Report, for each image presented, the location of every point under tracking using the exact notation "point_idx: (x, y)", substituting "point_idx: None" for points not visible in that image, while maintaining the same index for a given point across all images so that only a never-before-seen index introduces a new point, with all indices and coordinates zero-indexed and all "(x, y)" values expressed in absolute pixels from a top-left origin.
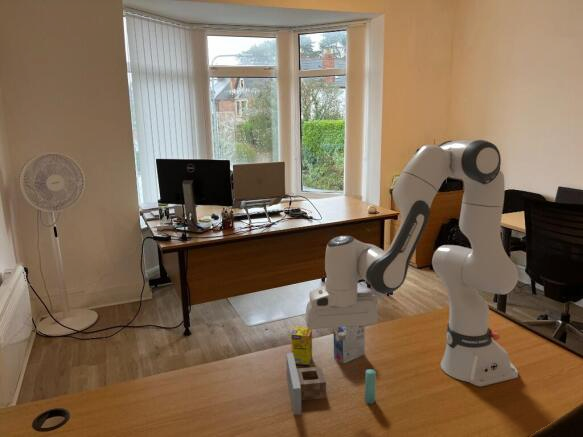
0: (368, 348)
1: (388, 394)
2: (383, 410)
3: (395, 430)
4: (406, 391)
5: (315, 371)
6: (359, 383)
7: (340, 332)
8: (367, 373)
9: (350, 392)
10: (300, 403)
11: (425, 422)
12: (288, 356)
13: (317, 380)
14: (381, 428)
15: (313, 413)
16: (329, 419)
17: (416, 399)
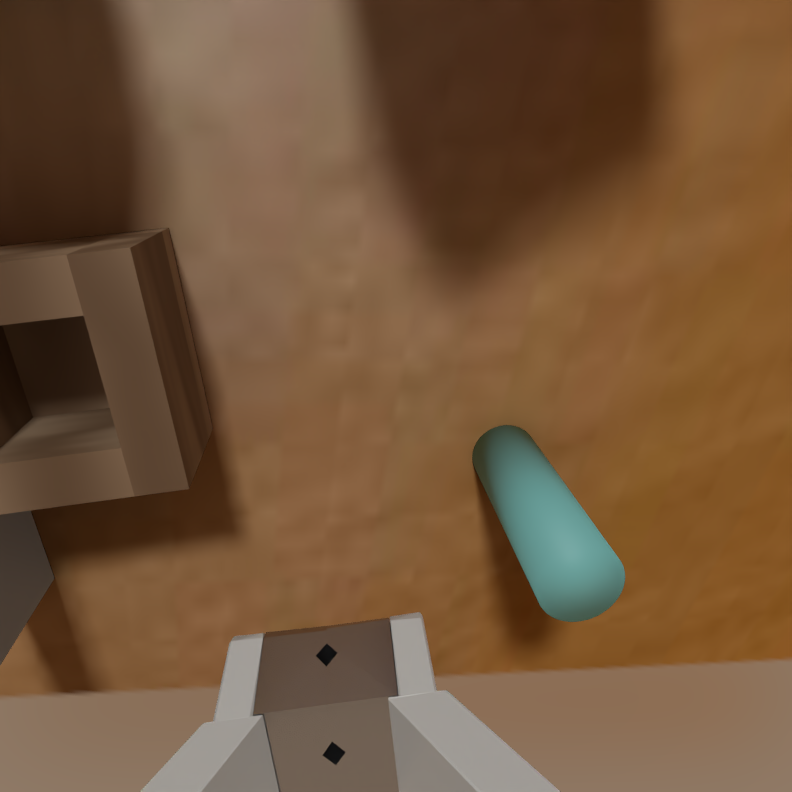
0: None
1: (640, 393)
2: None
3: (567, 664)
4: (766, 364)
5: (81, 313)
6: (478, 263)
7: (315, 707)
8: (546, 602)
9: (392, 370)
10: (16, 632)
11: (735, 611)
12: None
13: (111, 464)
14: (504, 656)
15: (133, 568)
16: (233, 609)
17: (785, 441)
